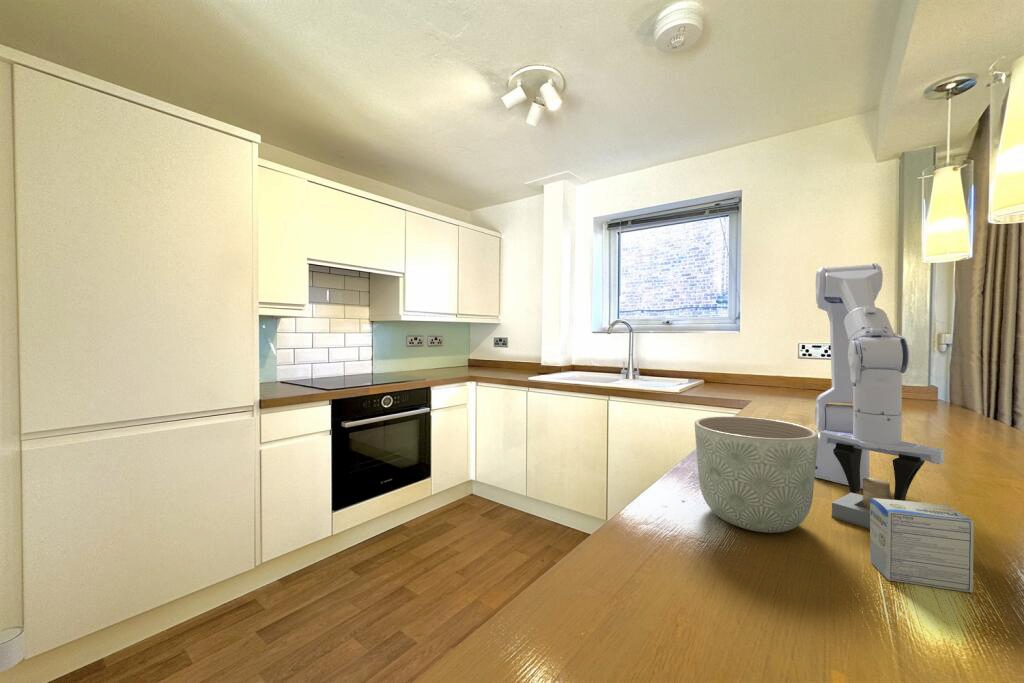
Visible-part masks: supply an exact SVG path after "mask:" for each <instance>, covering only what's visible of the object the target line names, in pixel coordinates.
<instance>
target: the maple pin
mask: <svg viewBox="0 0 1024 683" xmlns="http://www.w3.org/2000/svg"><path fill="white" fill-rule="evenodd" d="M890 489H891V483H890V482H888V481H887V480H883V479H879V478H875V477H870V478H863V489H862V495H863V508H867V509H870V499H872V498H879V499H890V500H891V490H890Z"/></svg>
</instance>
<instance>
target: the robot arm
mask: <svg viewBox="0 0 1024 683" xmlns="http://www.w3.org/2000/svg"><path fill="white" fill-rule="evenodd" d="M883 275H884V274H883V269H882V266H880V265H879V264H878V263H876V262H875V263H870V264H859V265H857V264H856V265H846V266H843V265H842V266H832V267H831V266H830V267H823V266H821V267H820V268H818V270H817V271H816V275H815V303H816V304H817V309H819V310H822V311H825V312H826V313H827V318H828V320H829V335H830V336H829V338H830V366H831V367H830V368H831V369H830V370H831V371H830V372H831V374H830V376H831V387H830V388H829V389H827V390H826V391H824V392H822V393H820V394H818V396H817V398H815V408H814V423H815V424H814V425H815V429H816V431H818V432H817V433H818V446H817V457H816V468H815V479H821V480H823V481H824V480H826V481H828V482H829V481H830V482H834V483H836V484H841V485H846V486H848V487H849V488H848V489H849V493H855V494H858V493H859V492H861V489H862V490H863V478H871V477H870V452H876V453H880V454H881V453H882V454H886V455H891V456H897V457H896V458H895V457H894V459H892V466H893V472H894V473H893V474H894V483H895V484H894V492H893V493H894V495H893V496H894V498H893V500H901V501H906V498H907V495H908V491H909V488H910V485H912V484H911V483H912V482H913V480H914V479H915V476H916V475H917V473H918V472H919V471H920V469H921V468H922V467H923V465H924V463H925V462H929V463H930V464H935V465H940V466H941V465H942V464H944V463H945V448H944V449H943V448H938V447H937V448H936V447H932V446H927V445H922V444H917V443H915V442H908V441H904V440H903V437H902V436H903V434H902V433H903V430H902V429H903V428H902V426H903V425H902V424H903V422H902V421H903V419H902V418H903V415H902V414H903V409H902V408H903V401H902V400H903V375H902V374H905V373H906V372H907V370H908V368H909V363H910V349H909V345H908V342H907V341H908V340H907V339H906V338H905V336H903V335H900V333H895V332H894V330H893V327H892V325H891V322H890V320H889V317H888V314H887V313H886V312H885V311H884V309H881V308H879V307H876V304H875V301H876V300H877V297H878V295H879V293H880V291H881V289H882V287H883V281H884V280H883V279H884V276H883ZM834 403H843V404H834ZM844 403H845V404H844ZM847 403H848V404H847Z"/></svg>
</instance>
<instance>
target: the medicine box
mask: <svg viewBox="0 0 1024 683" xmlns="http://www.w3.org/2000/svg"><path fill="white" fill-rule="evenodd" d="M974 526H975V522H974V521H973V520H972V519H970V518H969V517H968V516H967V515H965V514H963V513H962V512H960V511H958V510H956V509H954V508H952V507H950V506H949V505H946V504H938V503H930V502H929V503H928V502H920V501H909V500H905V501H901V500H894V499H891V498H890V499H879V498H872V499H870V529H869V531H870V532H869V534H870V540H869V542H870V544H869V545H870V546H869V547H870V552H869V553H870V555H869V556H870V558H869V559H870V561H871V563H872V565H873V566H874V567H875V569H877V571H879V572H880V573H881V575H882V576H883V577H884V578H885V579H886V580H887V581H891V582H898V583H905V584H911V585H912V584H913V585H918V586H924V587H925V586H926V587H932V588H939V589H946V590H951V591H960V592H966V593H974V536H975V535H974V528H975V527H974Z"/></svg>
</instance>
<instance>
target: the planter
mask: <svg viewBox="0 0 1024 683" xmlns="http://www.w3.org/2000/svg"><path fill="white" fill-rule="evenodd" d="M818 433H819V432H817V430H814V429H812V428H811V427H807V426H805V425H801V424H797V423H793V422H787V421H782V420H777V419H769V418H763V417H762V418H761V417H760V418H759V417H752V416H735V415H733V416H732V415H731V416H730V415H726V416H724V415H722V416H721V415H720V416H719V415H717V416H706V417H701V418H698V419H696V420H695V421H694V434H695V436H694V437H695V448H696V461H697V463H696V464H697V474H698V483H699V488H700V491H701V494H702V497H703V499H704V501H705V504H706V505H707V506H708V507H709V509H710V510H711V511H712V512H713V513H714V514H715V516H717V517H719V518H720V519H721V520H723V521H725V522H727V523H729V524H731V525H733V526H736V527H739V528H741V529H745V530H748V531H752V532H759V533H766V534H767V533H768V534H773V533H774V534H775V533H776V534H778V533H784V532H788V531H791V530H793V529H795V528H797V527H798V526H800V525H801V524H802V523H803V522H804V521H805V519H806V518H807V517H808V515H809V513H810V510H811V509H812V504H813V497H814V489H815V488H814V487H815V479H816V477H815V468H816V457H817V446H818Z"/></svg>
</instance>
